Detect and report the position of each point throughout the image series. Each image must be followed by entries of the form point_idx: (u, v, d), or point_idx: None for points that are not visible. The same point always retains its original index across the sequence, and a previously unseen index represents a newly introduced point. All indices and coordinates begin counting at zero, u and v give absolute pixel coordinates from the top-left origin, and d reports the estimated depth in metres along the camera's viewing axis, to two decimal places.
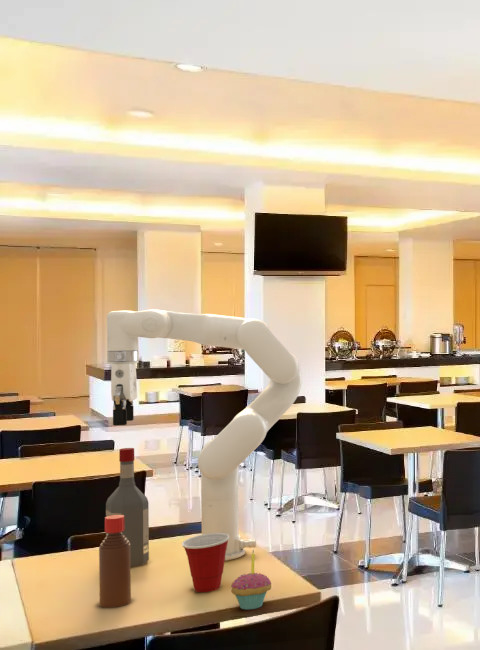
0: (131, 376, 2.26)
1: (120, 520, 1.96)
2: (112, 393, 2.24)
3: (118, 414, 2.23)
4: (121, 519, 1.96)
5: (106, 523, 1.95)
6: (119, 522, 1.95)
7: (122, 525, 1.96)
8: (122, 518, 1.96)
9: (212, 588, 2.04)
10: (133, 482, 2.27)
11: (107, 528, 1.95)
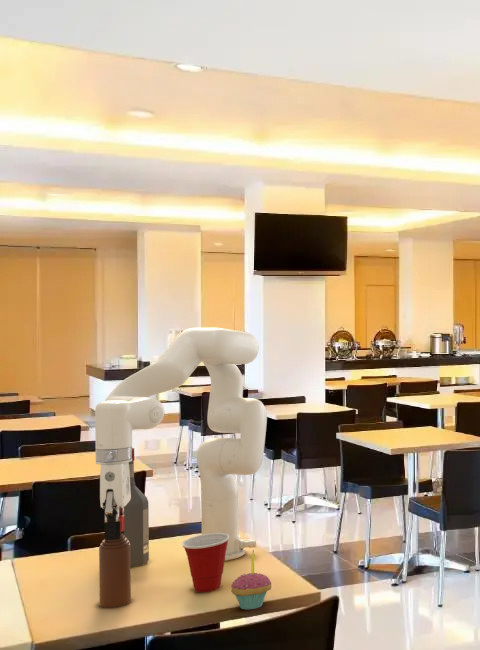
0: (123, 478, 1.94)
1: (120, 520, 1.96)
2: (101, 499, 1.91)
3: (110, 527, 1.93)
4: (120, 519, 1.96)
5: None
6: None
7: (122, 525, 1.96)
8: (122, 518, 1.96)
9: (212, 588, 2.04)
10: (133, 482, 2.27)
11: None
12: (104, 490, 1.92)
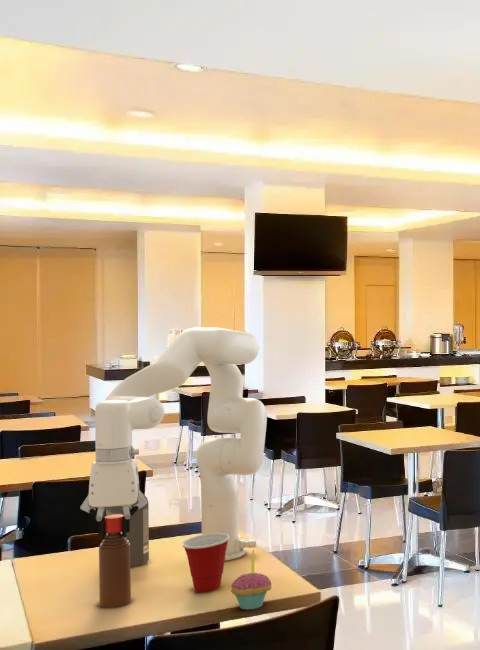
0: None
1: None
2: (136, 494, 1.96)
3: None
4: None
5: (120, 522, 1.95)
6: None
7: None
8: None
9: (212, 588, 2.04)
10: None
11: (120, 527, 1.96)
12: (137, 485, 1.97)
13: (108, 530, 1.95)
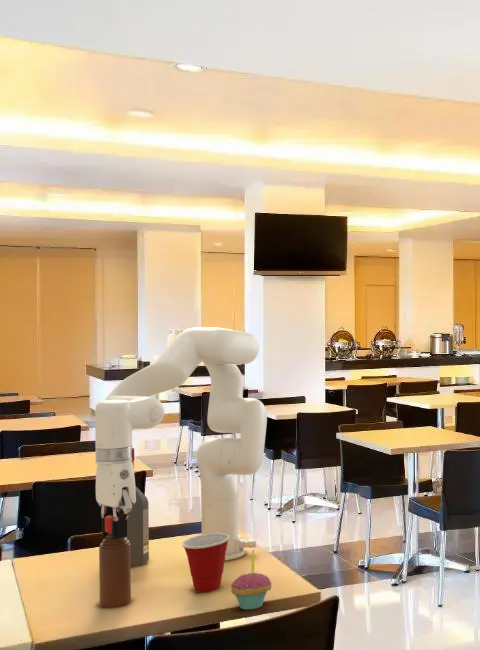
0: None
1: None
2: (117, 498, 1.92)
3: (120, 525, 1.94)
4: None
5: None
6: None
7: None
8: None
9: (212, 588, 2.04)
10: None
11: None
12: (120, 488, 1.93)
13: None
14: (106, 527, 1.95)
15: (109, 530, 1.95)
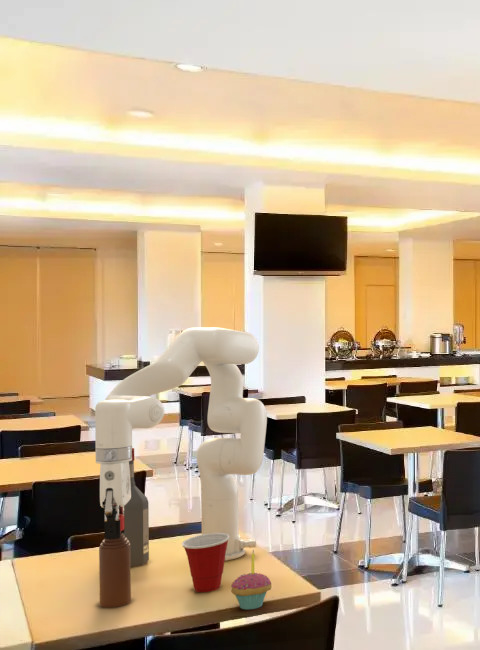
0: (123, 478, 1.94)
1: None
2: (101, 499, 1.91)
3: (110, 526, 1.93)
4: None
5: None
6: None
7: None
8: None
9: (212, 588, 2.04)
10: (133, 482, 2.27)
11: None
12: (104, 489, 1.92)
13: (122, 528, 1.96)
14: None
15: None
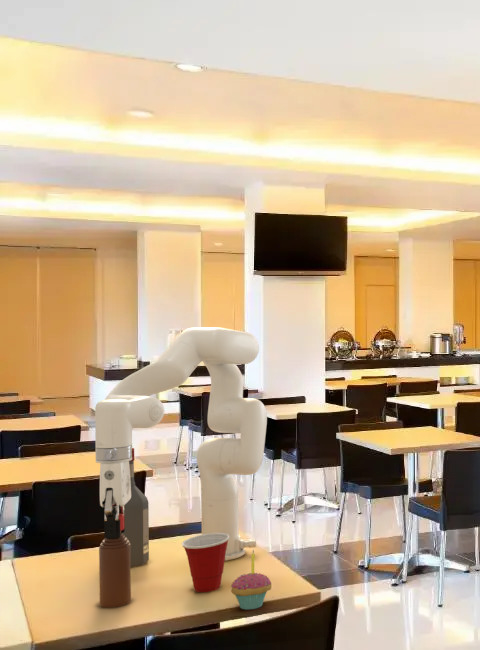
0: (123, 477, 1.94)
1: None
2: (101, 498, 1.91)
3: (110, 526, 1.93)
4: None
5: None
6: None
7: None
8: None
9: (212, 588, 2.04)
10: (133, 482, 2.27)
11: None
12: (104, 489, 1.92)
13: None
14: None
15: None
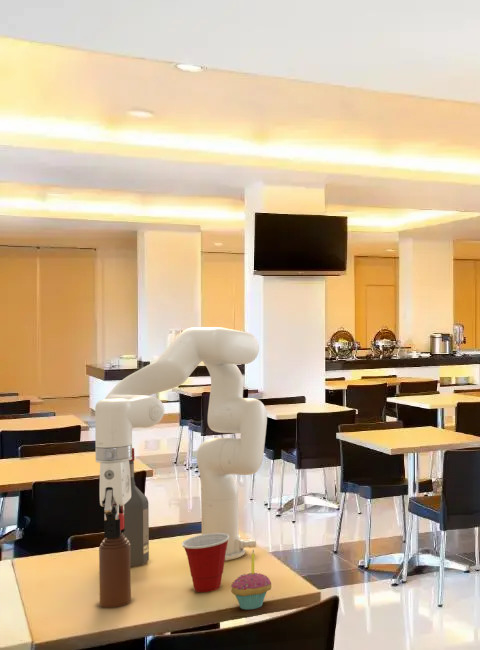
0: (123, 477, 1.94)
1: (122, 518, 1.96)
2: (100, 498, 1.92)
3: (110, 525, 1.93)
4: (122, 517, 1.96)
5: None
6: (120, 520, 1.96)
7: (123, 523, 1.97)
8: (123, 516, 1.97)
9: (212, 588, 2.04)
10: (133, 482, 2.27)
11: None
12: (103, 488, 1.92)
13: None
14: None
15: None
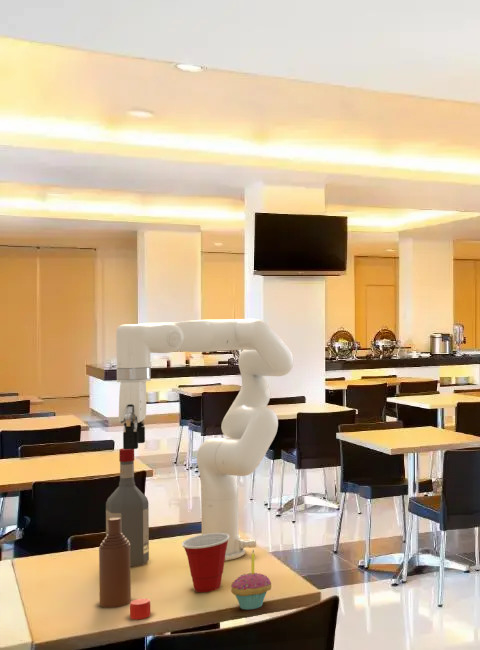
0: None
1: None
2: None
3: None
4: None
5: None
6: None
7: None
8: None
9: (212, 588, 2.04)
10: (133, 482, 2.27)
11: None
12: None
13: (149, 613, 1.87)
14: (141, 613, 1.86)
15: (145, 615, 1.86)
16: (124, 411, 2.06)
